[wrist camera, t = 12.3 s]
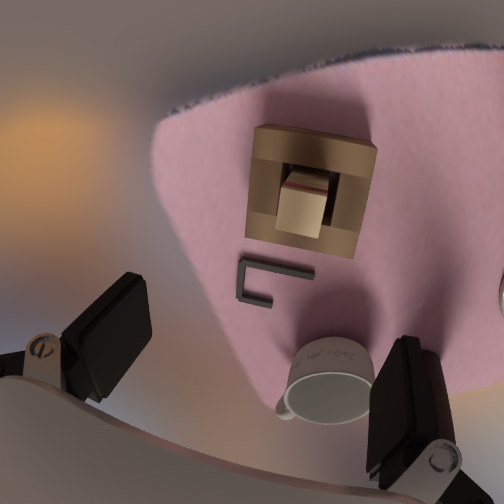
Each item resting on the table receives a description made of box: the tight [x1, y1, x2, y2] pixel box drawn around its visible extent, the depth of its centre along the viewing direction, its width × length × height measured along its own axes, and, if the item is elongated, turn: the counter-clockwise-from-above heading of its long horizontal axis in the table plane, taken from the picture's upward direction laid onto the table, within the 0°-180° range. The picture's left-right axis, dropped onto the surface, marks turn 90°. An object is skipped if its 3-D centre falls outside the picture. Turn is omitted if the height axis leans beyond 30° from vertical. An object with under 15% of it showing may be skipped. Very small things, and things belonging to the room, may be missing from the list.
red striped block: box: [275, 165, 330, 239], centre depth 26 cm, size 3×3×9 cm
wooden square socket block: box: [245, 124, 378, 259], centre depth 28 cm, size 10×10×4 cm
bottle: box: [422, 350, 456, 445], centre depth 28 cm, size 7×7×20 cm
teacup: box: [276, 337, 375, 425], centre depth 36 cm, size 14×11×8 cm
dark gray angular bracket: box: [236, 257, 315, 309], centre depth 36 cm, size 8×6×1 cm
